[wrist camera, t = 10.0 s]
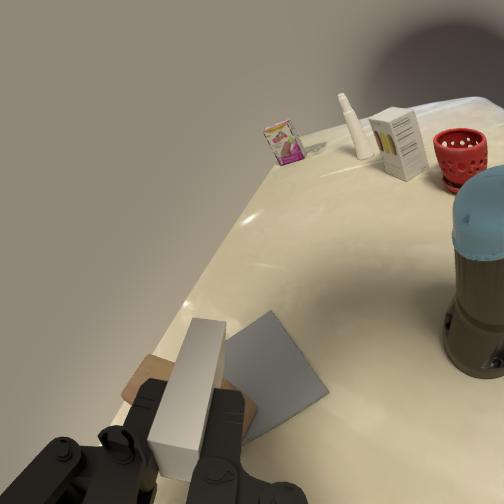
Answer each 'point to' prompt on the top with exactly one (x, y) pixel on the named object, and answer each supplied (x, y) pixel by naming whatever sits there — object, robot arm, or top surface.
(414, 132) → the supplement box
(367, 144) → the cosmetic bottle
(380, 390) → the top surface
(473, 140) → the plant pot
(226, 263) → the top surface
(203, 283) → the top surface
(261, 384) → the mat
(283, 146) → the candy bar box
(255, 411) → the wooden block
